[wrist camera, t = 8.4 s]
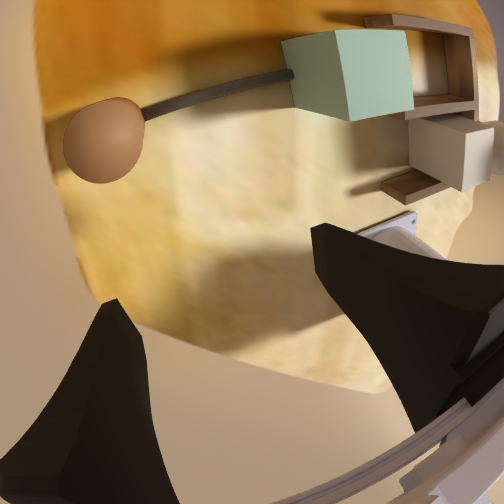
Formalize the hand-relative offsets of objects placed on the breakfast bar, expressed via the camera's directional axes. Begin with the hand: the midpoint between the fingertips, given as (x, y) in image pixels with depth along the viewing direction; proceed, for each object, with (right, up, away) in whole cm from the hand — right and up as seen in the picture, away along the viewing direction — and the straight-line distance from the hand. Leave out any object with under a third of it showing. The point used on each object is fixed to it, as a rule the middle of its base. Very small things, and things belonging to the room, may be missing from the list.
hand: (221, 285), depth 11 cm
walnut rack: (+14, +13, +9) cm, 22 cm away
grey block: (+16, +11, +11) cm, 23 cm away
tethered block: (0, +11, +5) cm, 12 cm away
